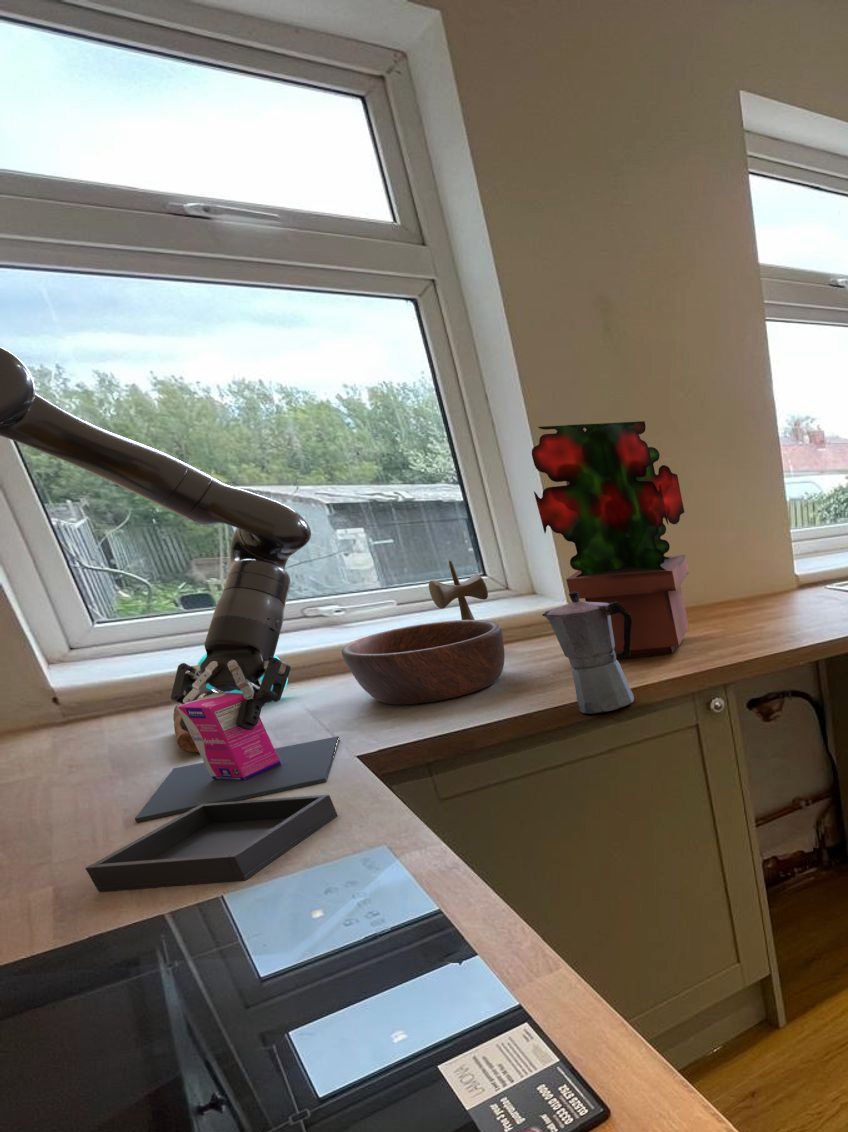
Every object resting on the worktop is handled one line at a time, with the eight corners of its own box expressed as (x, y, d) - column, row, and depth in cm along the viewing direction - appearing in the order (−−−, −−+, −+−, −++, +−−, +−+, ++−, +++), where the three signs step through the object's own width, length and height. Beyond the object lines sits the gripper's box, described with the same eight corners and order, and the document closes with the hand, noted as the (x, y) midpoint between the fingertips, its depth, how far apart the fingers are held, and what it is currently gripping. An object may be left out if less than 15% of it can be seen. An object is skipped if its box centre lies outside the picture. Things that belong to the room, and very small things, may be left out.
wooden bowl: (521, 690, 151) (505, 636, 147) (357, 722, 138) (335, 664, 134) (508, 660, 170) (494, 612, 166) (363, 686, 157) (344, 635, 153)
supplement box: (210, 780, 116) (174, 705, 112) (251, 763, 121) (218, 691, 117) (243, 781, 115) (208, 706, 111) (283, 764, 120) (251, 691, 116)
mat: (136, 822, 106) (134, 818, 106) (175, 771, 121) (173, 768, 121) (326, 781, 115) (324, 778, 115) (339, 739, 131) (338, 736, 131)
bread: (230, 719, 143) (217, 689, 140) (220, 750, 129) (205, 718, 126) (182, 728, 139) (168, 698, 137) (167, 762, 125) (150, 728, 123)
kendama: (448, 656, 175) (418, 563, 167) (495, 645, 182) (469, 555, 174) (459, 660, 172) (429, 565, 164) (507, 649, 179) (480, 557, 171)
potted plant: (695, 657, 166) (647, 421, 148) (579, 668, 162) (517, 427, 144) (707, 630, 186) (666, 420, 168) (604, 640, 182) (552, 425, 164)
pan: (98, 892, 90) (84, 868, 89) (211, 825, 104) (201, 803, 103) (245, 880, 91) (234, 856, 90) (338, 815, 105) (329, 794, 104)
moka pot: (580, 698, 145) (551, 587, 137) (664, 695, 145) (640, 583, 137) (552, 717, 136) (519, 599, 129) (641, 714, 136) (613, 596, 128)
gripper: (172, 616, 116) (137, 722, 110) (277, 610, 117) (248, 715, 111) (217, 642, 123) (187, 743, 117) (316, 636, 124) (291, 736, 118)
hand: (217, 729), depth 114 cm, fingers closed on supplement box, 6 cm apart
